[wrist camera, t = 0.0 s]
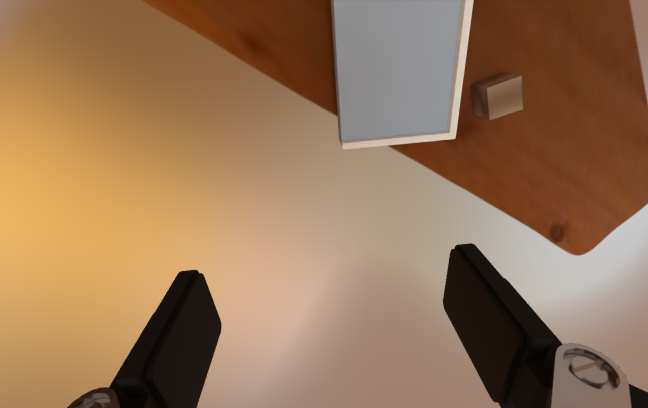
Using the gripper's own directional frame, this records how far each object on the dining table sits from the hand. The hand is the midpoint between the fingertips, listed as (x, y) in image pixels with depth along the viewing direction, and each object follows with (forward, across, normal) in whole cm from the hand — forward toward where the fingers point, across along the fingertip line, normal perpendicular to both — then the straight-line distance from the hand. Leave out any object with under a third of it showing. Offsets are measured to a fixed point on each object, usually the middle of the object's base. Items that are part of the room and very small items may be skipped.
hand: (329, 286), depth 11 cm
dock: (+31, -10, -6) cm, 33 cm away
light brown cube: (+31, -23, -1) cm, 39 cm away
